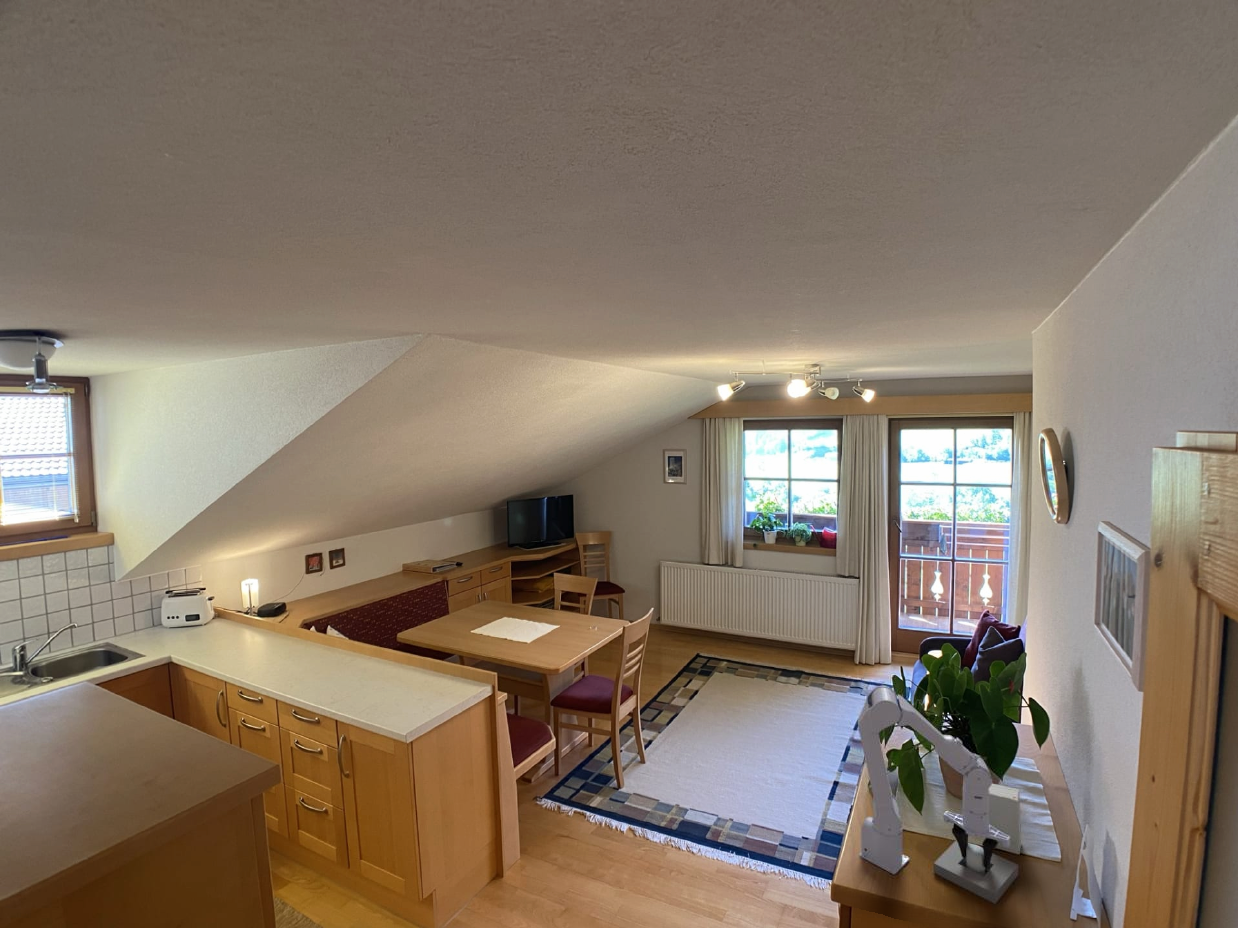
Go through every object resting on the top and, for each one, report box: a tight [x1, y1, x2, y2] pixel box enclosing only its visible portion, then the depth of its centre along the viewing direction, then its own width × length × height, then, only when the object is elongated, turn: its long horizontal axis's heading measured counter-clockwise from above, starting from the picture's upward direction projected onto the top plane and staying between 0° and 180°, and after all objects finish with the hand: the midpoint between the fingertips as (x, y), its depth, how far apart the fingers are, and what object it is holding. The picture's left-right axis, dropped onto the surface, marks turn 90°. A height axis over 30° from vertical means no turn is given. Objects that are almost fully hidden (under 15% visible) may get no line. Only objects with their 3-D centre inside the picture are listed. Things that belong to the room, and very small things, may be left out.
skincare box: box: [983, 783, 1022, 855], centre depth 169 cm, size 8×6×15 cm
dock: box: [933, 840, 1019, 905], centre depth 160 cm, size 14×14×2 cm
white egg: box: [965, 843, 986, 876], centre depth 159 cm, size 4×4×6 cm
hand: (975, 860), depth 159 cm, fingers open, 4 cm apart
